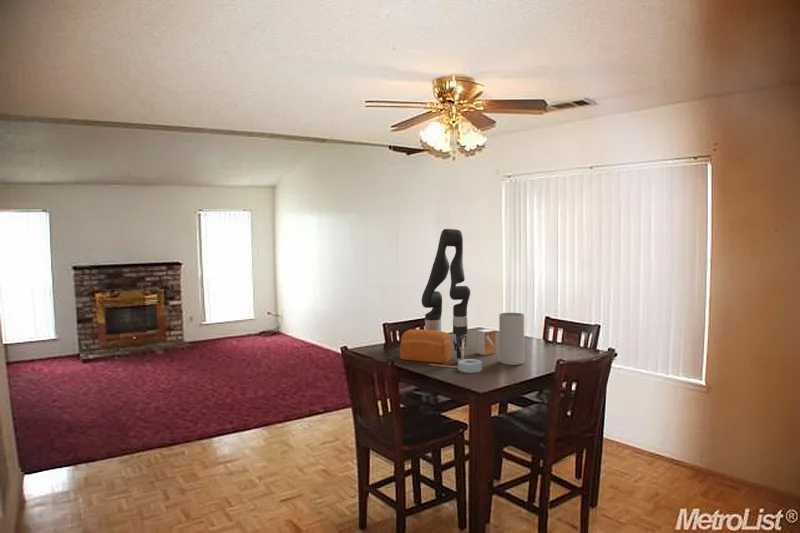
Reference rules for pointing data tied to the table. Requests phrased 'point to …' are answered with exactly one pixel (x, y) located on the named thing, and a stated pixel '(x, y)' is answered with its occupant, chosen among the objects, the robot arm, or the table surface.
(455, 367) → the wooden stick
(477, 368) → the bead
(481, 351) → the small box
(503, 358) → the cylinder vase
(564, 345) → the table surface
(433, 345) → the bread
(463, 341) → the dowel
